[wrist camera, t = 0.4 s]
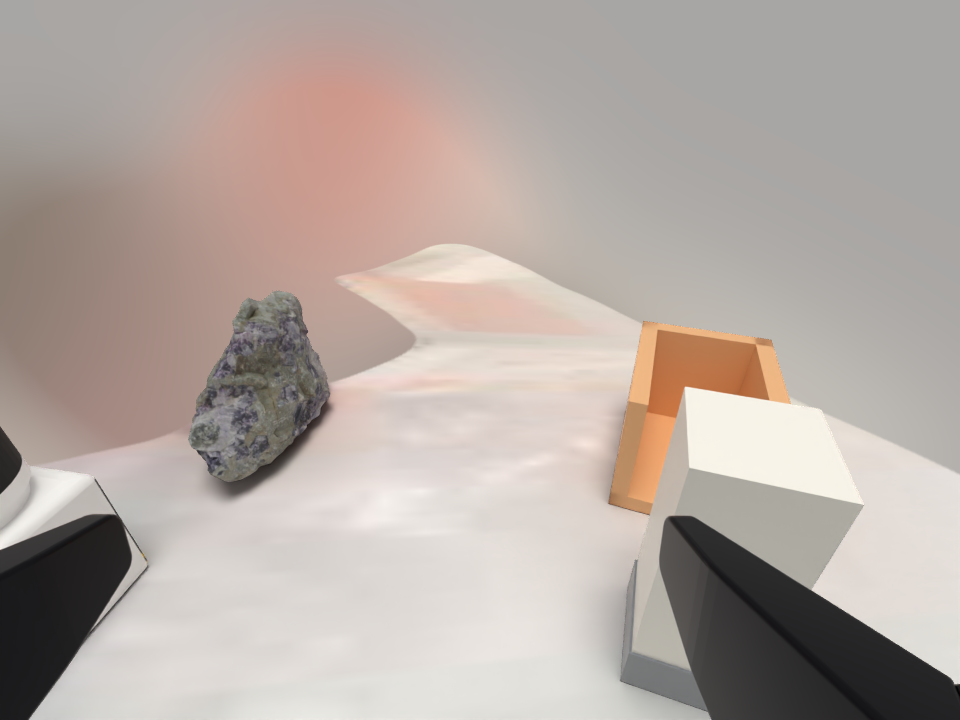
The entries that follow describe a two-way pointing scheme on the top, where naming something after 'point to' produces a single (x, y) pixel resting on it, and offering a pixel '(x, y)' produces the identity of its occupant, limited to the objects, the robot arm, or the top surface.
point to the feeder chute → (658, 392)
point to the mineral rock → (259, 389)
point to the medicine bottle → (52, 505)
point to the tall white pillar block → (736, 513)
